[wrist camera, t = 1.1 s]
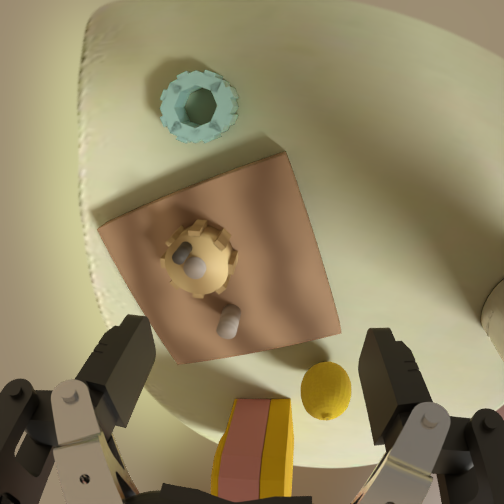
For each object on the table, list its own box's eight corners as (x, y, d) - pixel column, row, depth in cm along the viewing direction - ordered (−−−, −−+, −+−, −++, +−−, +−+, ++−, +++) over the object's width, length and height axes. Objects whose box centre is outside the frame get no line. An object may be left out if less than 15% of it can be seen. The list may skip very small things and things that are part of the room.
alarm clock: (227, 390, 38) (197, 515, 22) (289, 390, 37) (280, 523, 20) (244, 443, 44) (227, 539, 28) (294, 443, 43) (287, 543, 27)
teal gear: (224, 61, 22) (217, 57, 20) (250, 125, 24) (246, 127, 22) (160, 91, 23) (148, 90, 21) (185, 151, 25) (175, 155, 23)
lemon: (291, 361, 34) (289, 416, 27) (332, 340, 32) (339, 396, 25) (316, 385, 36) (317, 437, 29) (355, 366, 34) (363, 420, 27)
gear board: (285, 151, 25) (284, 163, 19) (339, 320, 31) (346, 365, 25) (107, 221, 29) (71, 248, 24) (182, 353, 36) (166, 392, 30)
